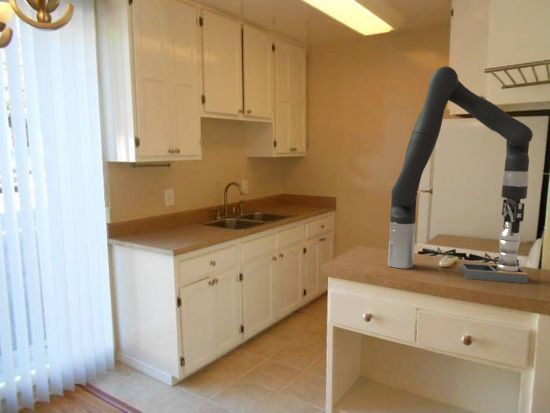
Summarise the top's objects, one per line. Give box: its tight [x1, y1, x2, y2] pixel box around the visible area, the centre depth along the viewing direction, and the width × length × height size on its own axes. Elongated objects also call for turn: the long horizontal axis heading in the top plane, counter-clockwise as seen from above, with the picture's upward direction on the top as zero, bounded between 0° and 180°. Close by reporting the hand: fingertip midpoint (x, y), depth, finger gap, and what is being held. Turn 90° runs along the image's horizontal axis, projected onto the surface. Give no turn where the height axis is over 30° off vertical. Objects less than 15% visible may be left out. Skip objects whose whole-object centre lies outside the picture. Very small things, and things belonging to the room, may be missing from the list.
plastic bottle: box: [496, 220, 521, 272], centre depth 139 cm, size 6×7×20 cm
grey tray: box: [459, 262, 529, 284], centre depth 141 cm, size 19×10×3 cm, turn 76°
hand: (510, 230), depth 138 cm, fingers open, 8 cm apart
